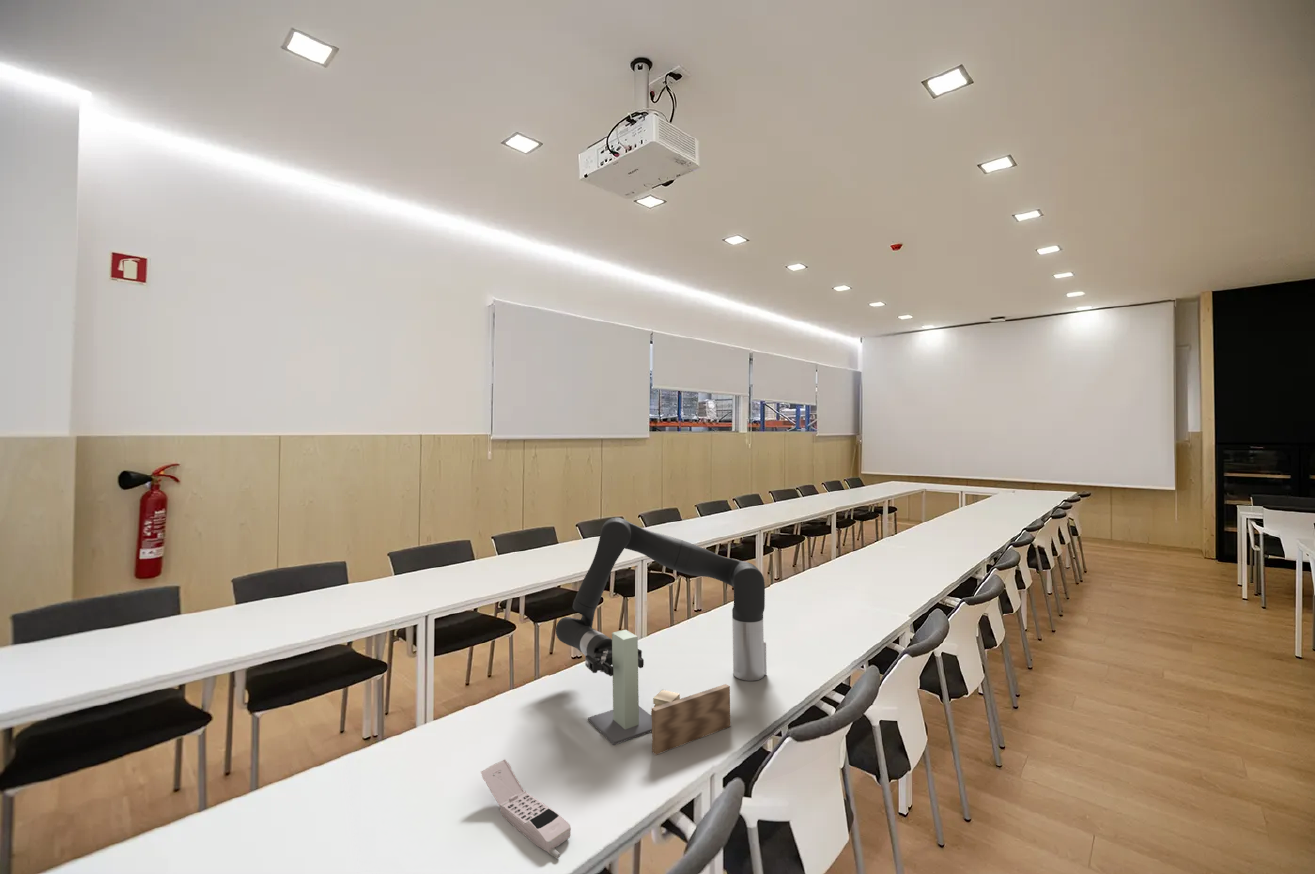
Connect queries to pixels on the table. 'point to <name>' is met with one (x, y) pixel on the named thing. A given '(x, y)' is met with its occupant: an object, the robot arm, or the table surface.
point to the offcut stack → (665, 698)
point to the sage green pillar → (625, 678)
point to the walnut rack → (690, 718)
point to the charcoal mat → (617, 732)
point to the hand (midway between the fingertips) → (627, 667)
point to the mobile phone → (526, 809)
